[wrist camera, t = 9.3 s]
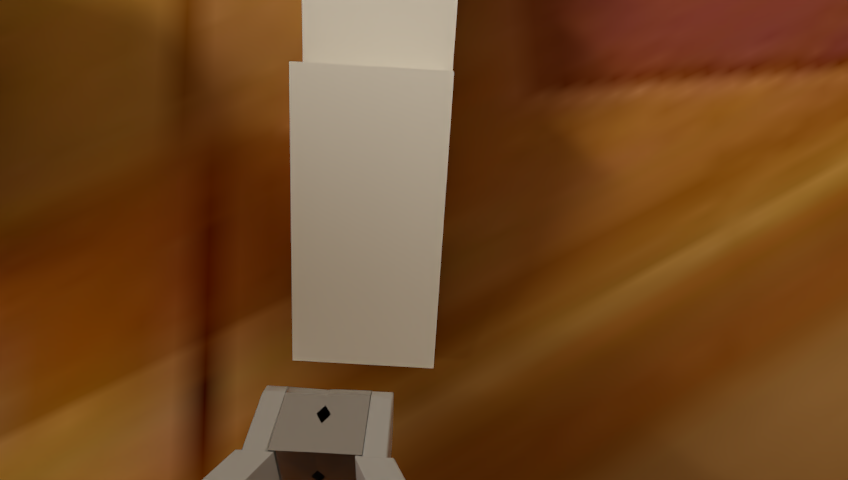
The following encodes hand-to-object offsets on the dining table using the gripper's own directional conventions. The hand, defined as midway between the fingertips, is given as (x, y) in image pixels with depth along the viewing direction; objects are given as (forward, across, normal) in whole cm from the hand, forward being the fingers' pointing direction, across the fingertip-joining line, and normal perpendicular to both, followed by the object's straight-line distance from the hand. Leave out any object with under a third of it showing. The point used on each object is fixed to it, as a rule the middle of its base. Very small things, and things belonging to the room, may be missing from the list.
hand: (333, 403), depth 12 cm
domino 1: (+5, 0, +4) cm, 6 cm away
